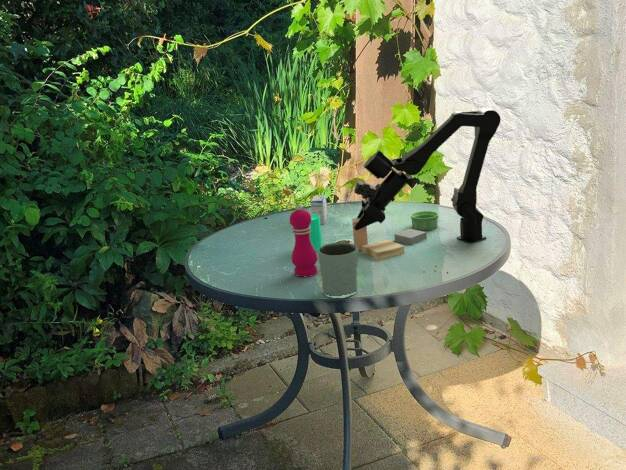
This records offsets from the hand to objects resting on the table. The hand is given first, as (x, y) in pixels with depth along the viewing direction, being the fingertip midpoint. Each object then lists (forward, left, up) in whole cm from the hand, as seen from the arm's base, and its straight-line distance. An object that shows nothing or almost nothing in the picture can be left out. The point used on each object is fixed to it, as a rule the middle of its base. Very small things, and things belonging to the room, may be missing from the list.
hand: (354, 227), depth 205 cm
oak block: (-9, -4, -7) cm, 12 cm away
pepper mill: (-10, +22, -7) cm, 25 cm away
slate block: (-4, -17, -7) cm, 19 cm away
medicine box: (+35, -5, -7) cm, 36 cm away
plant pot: (-29, +21, -7) cm, 36 cm away
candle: (+8, +11, -7) cm, 15 cm away
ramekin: (+4, -28, -7) cm, 29 cm away
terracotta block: (-1, -1, -7) cm, 7 cm away
